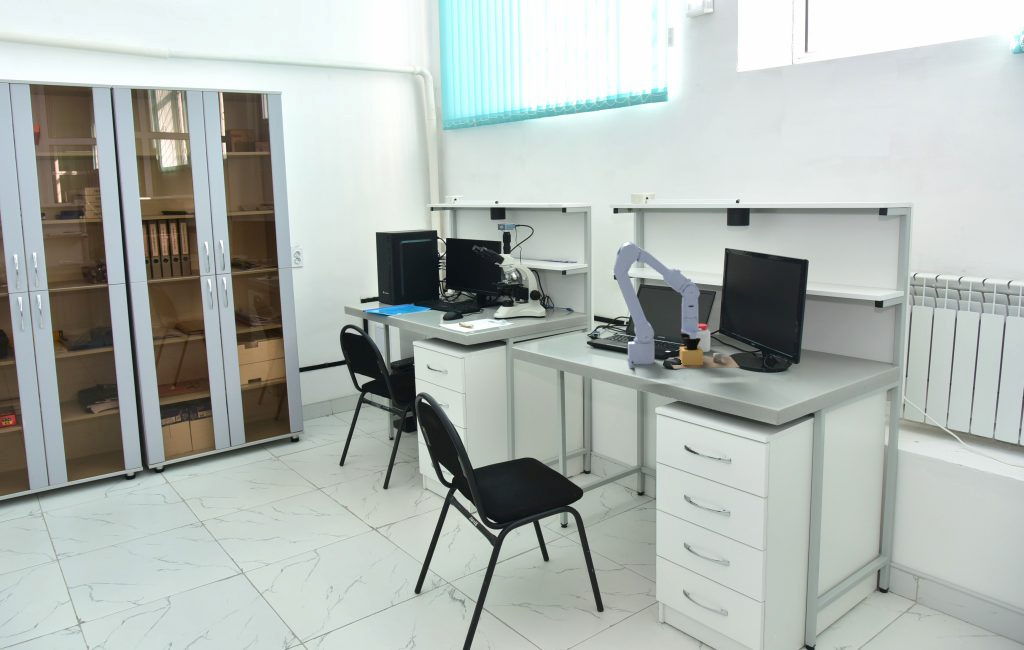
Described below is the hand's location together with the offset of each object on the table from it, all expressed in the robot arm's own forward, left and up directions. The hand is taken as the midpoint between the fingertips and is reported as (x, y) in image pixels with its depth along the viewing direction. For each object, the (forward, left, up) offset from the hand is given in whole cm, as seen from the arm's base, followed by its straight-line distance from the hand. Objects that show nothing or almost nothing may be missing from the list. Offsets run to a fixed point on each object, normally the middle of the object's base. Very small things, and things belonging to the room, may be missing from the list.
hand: (690, 354), depth 268 cm
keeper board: (+4, -3, -4) cm, 6 cm away
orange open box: (0, -3, -2) cm, 4 cm away
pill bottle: (+6, +17, -4) cm, 19 cm away
